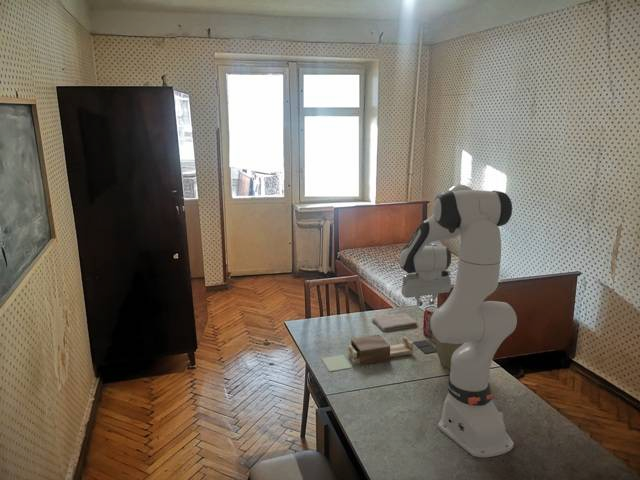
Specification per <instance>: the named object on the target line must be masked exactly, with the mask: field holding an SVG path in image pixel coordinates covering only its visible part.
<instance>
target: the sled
mask: <svg viewBox="0 0 640 480" xmlns="http://www.w3.org/2000/svg"><path fill="white" fill-rule="evenodd" d="M402 338H403V339H402V343H397V344H392V345H390V358H394V357H401V356H407V355H412V354H413V353H414V351H413V350H414V343H413V342H414V341H413V342H412V340H410V339H409V338H408V337H407V336H406V335H405V336H402ZM347 355H348V358H349V359H350V360H351V362H352V363H353V364H360V351H356V350H355V349H354V348H353V347H352V345H351V344H350V345H348V351H347Z"/></svg>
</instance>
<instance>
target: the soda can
mask: <svg viewBox="0 0 640 480" xmlns="http://www.w3.org/2000/svg"><path fill="white" fill-rule="evenodd" d="M438 308H439V307H438V306H437V307H436V306H434V305H433V306H431V305H430V306H426V307H425V310H424V312H423V320H422V321H423V323H422V324H423V325H422V332H423V333H422V334H423V335H425V336H426V337H428V338H434V337H433V333H432V330H431V325H430V323H431V317H432V315H433V313H434V312H435V311H436V310H437V309H438Z"/></svg>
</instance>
